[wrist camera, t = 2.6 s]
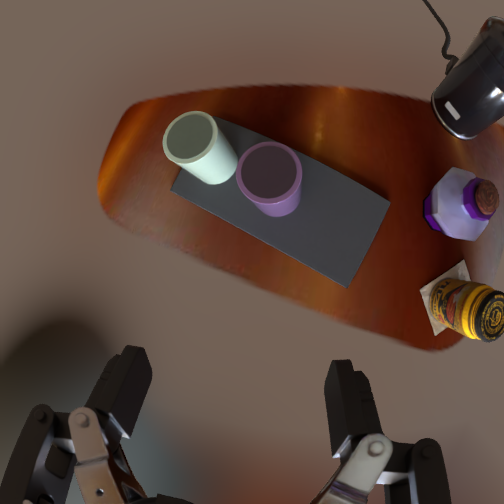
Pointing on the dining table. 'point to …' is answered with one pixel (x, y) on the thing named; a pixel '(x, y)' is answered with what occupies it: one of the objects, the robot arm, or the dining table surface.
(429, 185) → the dining table surface
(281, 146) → the purple tumbler
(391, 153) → the dining table surface
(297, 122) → the dining table surface
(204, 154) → the celadon tumbler
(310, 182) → the placemat
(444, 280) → the condiment
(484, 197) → the potion bottle
